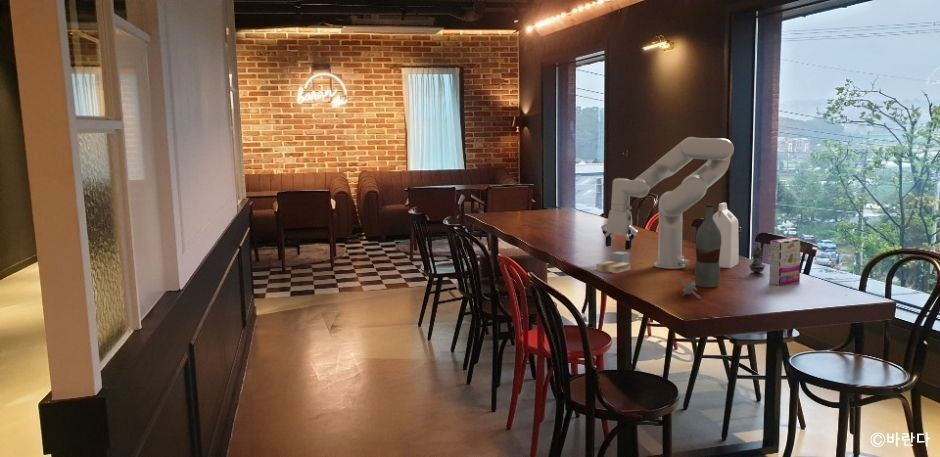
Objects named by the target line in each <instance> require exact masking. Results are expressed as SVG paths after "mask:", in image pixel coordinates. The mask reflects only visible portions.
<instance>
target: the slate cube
mask: <svg viewBox="0 0 940 457" xmlns="http://www.w3.org/2000/svg"><path fill="white" fill-rule="evenodd" d="M610 256H611V260H610V261H616V262H623V263H630V259H631V258H630V256H631V255H630V252H629V251H628V252H627V251H615V252H611V254H610Z"/></svg>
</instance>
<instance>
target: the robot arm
mask: <svg viewBox="0 0 940 457" xmlns="http://www.w3.org/2000/svg"><path fill="white" fill-rule="evenodd" d="M734 150H735V147H734V144H733V143H732V141H731V140H729V139H727V138H722V137H720V138H719V137H718V138H709V137H707V138H706V137H705V138H704V137H696V136H695V137H694V136H688V137H686V138H684V139H683V140H681V141H680V142H679V143H678V144H677V145H675V146H674V147H672V149H671V150H669V151H668V152H667V153H665V154H664V155H663V156H661V157H660V158H659V159H658V160H656V162H655V163H653V164H652V165H651V166H649V167H648V168H647V169H645V171H643V172H642V173H641V174H640V175H638V176H637V177H635V179H631V180H630V179H629V178H622V177H621V178H620V177H617V178H614V179H613V180H612V189H611V203H610V204H611V206H610V210H609V212H608V216H607V223H604V224H603V225H601V227H600V229H601V231H602V234H603V235H604V237H605V243H604V244H605V247H611V246H612V235H619V236H624V237H625V238H626V240H625V244H624V245H625V247H624V248H625V251H628V250H631V248H632V241H633V239H635V238H636V235H637V234H638V230H637V229H636V228H634V227H633V218H632V217H633V215H632V211H630V210H632V208H633V207H632V205H631V204H630V203H631V202H630V201H631V197H634V198H644V197H646V196H648V194H649V193H650V190H651V189H653V187H655V186H657V184H658V183H660V182H661V181H663V180H665V179H667V178H669V177H671V176H673V175H675V174H676V173H678V172H679V171H680V170H681V169H683V167H685V166H686V165H687V164H688V163H690V162H691V161H693V160H706V162H705V163H704V164H703V165H701V166H700V167H699V168H698V169H696V170H695V171H694V172H692V173H690V174H689V175H688V176H686V177H685V178H683V180H682V182H680V183H681V184H679V185H678V186H677V187H676V188H674V189H673V190H669V191H665V192H664V193H662V195H661V196H659V197H660V198H659V199H658V242H657V243H658V244H657V246H658V248H657V261H655V262H653V267H656V268H658V269H659V268H660V269H667V270H677V269H684V268H685V267H686V265H687V266H689V265H690V263H691V260H690V259H685V256H684V255H683V253H682V252H683V250H682V249H683V246H682V245H683V213H684V212H686V211H687V210H688V209H690V208H691V207H692V206H694V205H695V204H697V203H698V202H699V201H701V200H702V199H703V197H704V196H705V195H706V193H707V190H708V188H710V187H711V186H712V185H714V184H715V183H716V182H717V181H719V179H721V177H723V176H724V175H725V174H726V172H727V171H728V169H729V167H730V163H731V157H732V156H733V154H734V153H735V151H734Z"/></svg>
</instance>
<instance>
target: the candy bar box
mask: <svg viewBox="0 0 940 457" xmlns="http://www.w3.org/2000/svg"><path fill="white" fill-rule="evenodd" d="M769 245H770V247H769V281H768V282H769V283H768V284H770V285H773V286H779V287H780V286H781V287H782V286H786V285H792V284H797V283H800V279H801V278H800V277H801V276H800V274H801V248H802V246H801V245H802V240H801V239H800V238H796V237H795V238H794V237H789V238H782V239H781V238H780V239H774V240H773V239H772V240H770V242H769Z"/></svg>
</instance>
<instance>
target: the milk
mask: <svg viewBox="0 0 940 457" xmlns="http://www.w3.org/2000/svg"><path fill="white" fill-rule="evenodd" d="M713 220H714V222H715V223H716V225H717V227H718V228H719V230H720V233H721V240H722V242H721V248H720V258H719V265H720V268H727V269H731V268H733V267H735V266H736V265H739V259H740V258H739V256H740V255H739V253H740V252H739V246H740V243H739V220H738V218H737V217H736V216H735V215H734V214H733V212H731V211H730V210H729V209H728V204H727V202H721V203H719V204H718V211H716V212H715V213H713Z"/></svg>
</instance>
